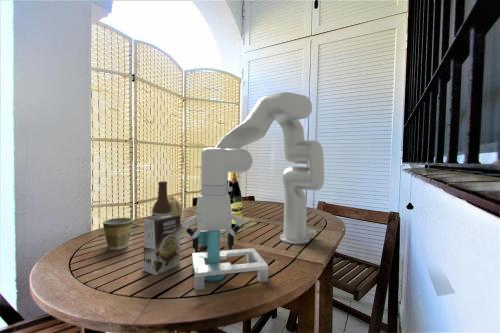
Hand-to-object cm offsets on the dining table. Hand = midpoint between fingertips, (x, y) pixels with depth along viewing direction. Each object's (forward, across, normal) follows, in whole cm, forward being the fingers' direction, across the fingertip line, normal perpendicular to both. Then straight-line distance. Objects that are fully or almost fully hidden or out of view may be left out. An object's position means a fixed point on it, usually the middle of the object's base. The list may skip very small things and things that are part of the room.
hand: (213, 249), depth 71 cm
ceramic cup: (+8, +32, -33) cm, 47 cm away
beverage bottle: (+8, 0, -25) cm, 26 cm away
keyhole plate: (+8, -4, 0) cm, 9 cm away
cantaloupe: (+8, +16, -59) cm, 62 cm away
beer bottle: (+8, +16, -40) cm, 44 cm away
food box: (+8, +14, -9) cm, 19 cm away
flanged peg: (+8, 0, 0) cm, 8 cm away
